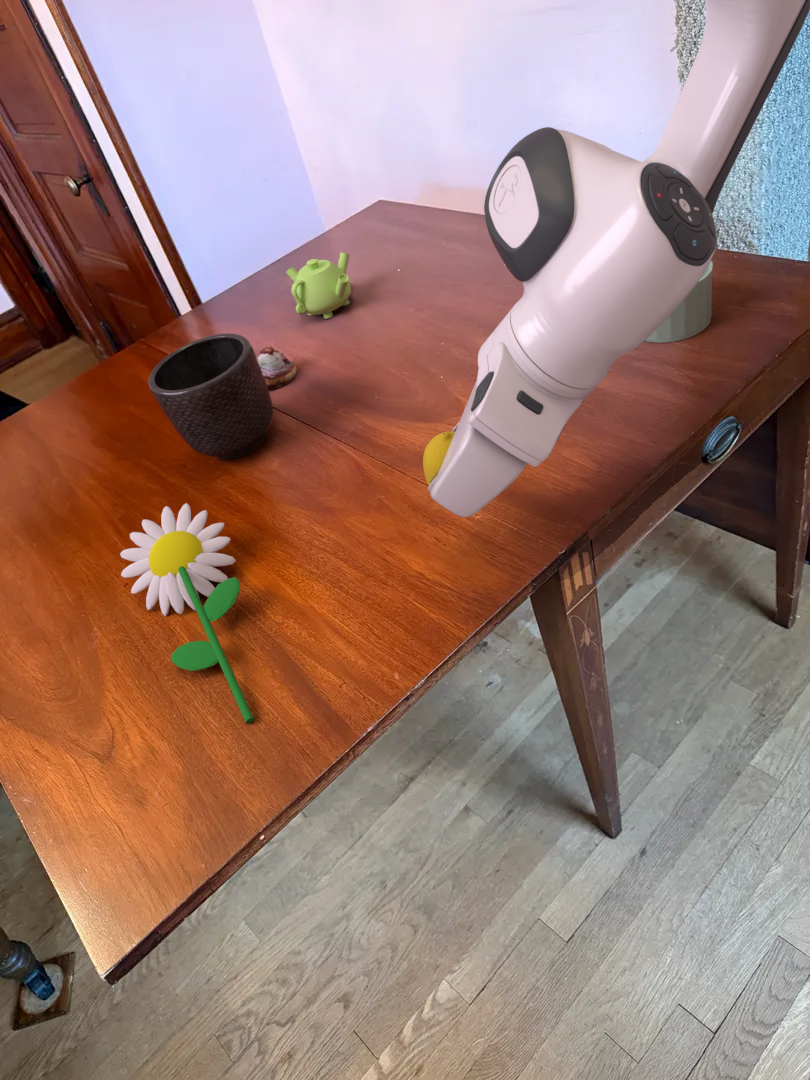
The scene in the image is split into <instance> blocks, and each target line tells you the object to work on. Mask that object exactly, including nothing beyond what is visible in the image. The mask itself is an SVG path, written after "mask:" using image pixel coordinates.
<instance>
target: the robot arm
mask: <svg viewBox="0 0 810 1080" xmlns="http://www.w3.org/2000/svg"><path fill="white" fill-rule="evenodd" d="M704 4H705V23H704V31H703V35H702V39H701V40H702V41H701V44H700V46H699V49H698V52H697V54H696V57H695V59H694V62H693V63H692V66H691V69H690V71H689V73H688V75H687V77H686V80H685V82H684V85H683V87H682V88H681V89H682V90H681V91H680V94H679V96H678V98H677V101H676V103H675V106H674V108H673V110H672V113H671V115H670V117H669V119H668V121H667V124H666V126H665V129H664V131H663V134H662V136H661V137H660V140H659V143H658V144H657V146H656V148H655V150H654V151H653V152H652V153H651V155H649V156H648V157H647V158H646V159H644V160H643V161H640V160H637V159H635V158H633V157H630V156H628V155H625V154H623V153H621V152H618V151H615V150H613V149H611V148H610V147H608V146H607V145H605V144H602V143H599V142H597V141H595V140H593V139H589V138H587V137H584V136H582V135H580V134H576V133H575V132H571V131H568V130H563V129H558V128H554V127H550V126H546V127H541V128H538V129H536V130H533V131H532V132H530V133H529V134H527V135H525V136H524V137H522V138H521V139H519V141H518V142H517V143H516V144H514V145H513V146H512V148H511V149H510V150H509V151H508V152H507V154H506V155H505V156H504V158H503V159H502V161H500V164H499V165H498V167H497V169H496V170H495V172H494V174H493V176H492V178H491V181H490V183H489V185H488V188H487V190H486V195H485V198H484V205H483V211H484V219H485V224H486V228H487V231H488V234H489V238H490V240H491V241H492V244H493V246H494V248H495V250H496V251H497V254H498V255H499V257H500V259H501V260H502V262H503V263H504V265H505V267H506V268H507V270H508V271H509V272H510V274H511V275H512V276H513V277H514V278H515V279H516V280H517V281H519V282H521V283H522V286H523V294H522V296H521V297H520V299H518V300H517V302H515V304H513V306H512V307H511V308H510V310H509V311H508V312H507V313H506V315H505V316H504V317H503V319H501V321H500V322H499V323H498V325H497V326H496V327H495V328H494V330H493V331H492V332H491V334H490V335H489V336H488V337H487V338H486V339H485V341H484V342H483V343H482V345H481V346H480V348H479V350H478V354H477V366H478V370H477V377H476V380H475V383H474V385H473V388H472V391H471V393H470V395H469V397H468V400H467V403H466V405H465V407H464V410H463V412H462V414H461V416H460V419H459V421H458V422H457V424H456V425H455V426H454V427H453V428H452V430H451V431H454V432H455V434H454V436H453V439H452V441H451V444H450V446H449V449H448V451H447V453H446V456H445V458H444V461H443V463H442V466H441V468H440V470H439V471H438V472H437V473H436V474H435V475H434V476H433V478H432V480H431V482H430V485H428V487H427V490H428V491H429V494H430V498H431V499H432V500H433V501H434V502H436V503H437V504H438V505H440V506H441V507H443V508H444V509H446V510H447V511H449V512H451V513H452V514H454V515H455V516H458V517H460V518H470V517H472V516H474V515H476V514H477V513H479V512H480V511H481V510H483V508H485V507H486V506H487V505H488V504H490V503H491V502H492V501H493V500H494V499H495V498H497V497H498V496H499V495H500V494H502V492H504V491H505V490H506V489H507V488H508V487H509V486H510V485H511V484H512V483H514V482H515V480H516V479H517V478H518V477H519V476H520V475H521V474H522V473H523V471H524V470H525V468H526V467H527V465H529V466H531V467H533V468H536V467H537V468H538V467H539V466H540V465H541V464H542V463H543V462H545V460H546V459H548V457H550V455H551V453H552V452H553V450H554V448H555V446H556V444H557V442H558V440H559V438H560V436H561V434H562V433H563V431H564V429H565V427H566V425H567V423H568V421H569V420H570V418H571V417H572V416H573V414H575V412H576V411H577V410H578V409H579V408H580V407H581V405H582V404H583V402H584V400H585V398H587V397H588V396H589V395H590V394H591V393H592V392H593V391H594V390H595V389H596V388H597V387H598V386H599V385H600V384H602V382H603V381H604V380H605V378H606V377H607V375H608V374H609V372H610V370H611V368H612V367H613V365H614V363H615V362H616V361H617V360H618V359H620V358H621V357H623V356H624V355H626V354H628V353H631V352H632V351H633V350H635V349H637V348H638V347H639V346H641V345H642V344H643V343H644V342H646V341H645V340H646V339H647V338H648V337H649V336H650V335H651V334H652V333H653V332H654V331H655V330H656V329H657V328H658V327H659V326H660V325H661V324H662V323H663V322H664V321H665V320H666V319H667V318H668V317H669V316H670V315H671V314H672V312H673V311H674V310H675V309H676V308H677V307H678V306H679V305H680V304H681V303H682V301H683V300H684V299H685V298H686V297H687V295H688V294H689V293H690V292H691V291H692V289H693V288H694V287H695V286H696V284H697V283H698V281H699V280H700V278H701V277H702V275H703V274H704V272H705V270H706V269H707V267H708V265H709V263H710V261H712V259H713V257H714V254H715V252H716V249H717V243H718V241H717V240H718V235H717V234H718V233H717V228H716V223H715V219H714V216H713V214H714V211H715V208H716V205H717V202H718V199H719V197H720V195H721V192H722V190H723V187H724V185H725V183H726V181H727V179H728V176H729V174H730V172H731V170H732V169H733V167H734V164H735V162H736V160H737V158H738V156H739V154H740V152H741V150H742V148H743V146H744V145H745V142H746V140H747V139H748V136H749V135H750V133H751V131H752V129H753V127H754V125H755V123H756V121H757V119H758V117H759V115H760V112H761V111H762V109H763V107H764V105H765V103H766V101H767V100H768V97H769V95H770V94H771V91H772V89H773V87H774V85H775V83H776V81H777V79H778V77H779V75H780V73H781V71H782V70H783V68H784V65H785V64H786V61H787V59H788V57H789V55H790V53H791V51H792V49H793V47H794V45H795V42H796V41H797V39H798V36H799V34H800V32H801V30H802V28H803V26H804V24H805V21H806V19H807V17H808V15H809V13H810V0H704Z"/></svg>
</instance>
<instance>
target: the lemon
mask: <svg viewBox="0 0 810 1080" xmlns="http://www.w3.org/2000/svg"><path fill="white" fill-rule="evenodd" d="M454 434H455V432H454V431H452V430H451V431H450V430H449V431H443V432H441V433H438V434H437V435H435V436H433V437H432V439H431V440H429V442H428V444H427V445H426V446H425V449H424V452H423V456H422V465H423V467H422V468H423V475H424V479H425V482H426V484H427V485H428V486H429V485H430V482H431V480H432V478H433V476H434V475H435V474H436V473H437V472H438V471H439V470H440V468H441V466H442V463H443V461H444V458H445V456H446V453H447V451H448V449H449V446H450V444H451V441H452V439H453V436H454Z"/></svg>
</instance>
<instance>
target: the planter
mask: <svg viewBox="0 0 810 1080" xmlns="http://www.w3.org/2000/svg"><path fill="white" fill-rule="evenodd" d="M257 358H258V357H257V356H256V353H255V351H254V347H253V346H252V344H251V343H250V341H249V339H248V338H246V337H245V336H243V335H241V334H236V333H230V332H228V333H218V334H213V335H212V334H211V335H208V336H205V337H201V338H198V339H195V340H193V341H191V342H189V343H186V344H184V345H182V346H181V347H179V348H177V349H175V350H173V351H172V352H171V353H169V354H168V355H166V356H165V357H163V358H162V359H161V360H160V361H159V362H158V363H157V364H156V365H155V367H154V368H153V369H152V371H151V372H150V374H149V376H148V382H147V385H148V388H149V390H150V392H151V394H152V396H153V397H154V399H155V400H156V402H157V404H158V406H159V407H160V408H161V410H162V411H163V413H164V414H165V416H166V417H167V419H168V421H169V422H170V423H171V425H172V426H173V428H174V429H175V431H176V432H177V433H178V435H179V436H180V437H181V438H182V440H183V441H184V442H185V443H186V444H187V445H188V446H189V447H190V448H191V449H193V450H194V451H196V452H197V453H199V454H201V455H204V456H208V457H214V458H217V459H220V460H226V461H227V460H235V459H238V458H242V457H244V456H246V455H248V454H250V453H252V452H254V451H255V450H256V449H257V448H259V447H260V446H261V444H263V442H264V440H265V439H266V437H267V432H268V431H269V428H270V426H271V424H272V421H273V417H274V415H273V414H274V409H273V408H274V407H273V401H272V398H271V397H272V396H271V393H270V390H268V387H267V384H266V381H265V378H264V376H263V373H262V370H261V368H260V365H259V363H258V360H257Z"/></svg>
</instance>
